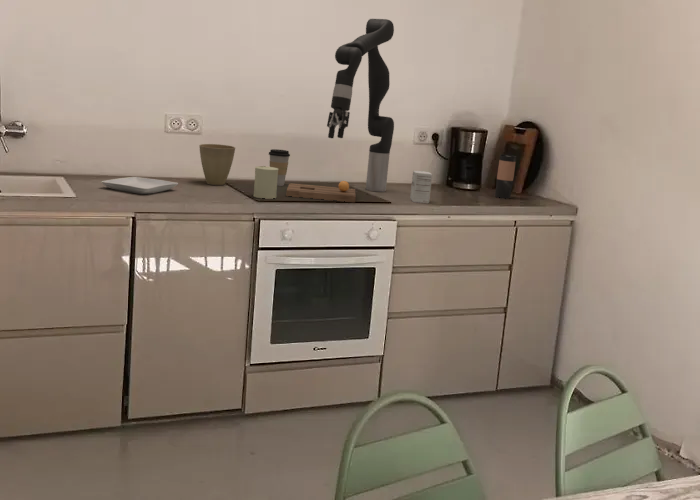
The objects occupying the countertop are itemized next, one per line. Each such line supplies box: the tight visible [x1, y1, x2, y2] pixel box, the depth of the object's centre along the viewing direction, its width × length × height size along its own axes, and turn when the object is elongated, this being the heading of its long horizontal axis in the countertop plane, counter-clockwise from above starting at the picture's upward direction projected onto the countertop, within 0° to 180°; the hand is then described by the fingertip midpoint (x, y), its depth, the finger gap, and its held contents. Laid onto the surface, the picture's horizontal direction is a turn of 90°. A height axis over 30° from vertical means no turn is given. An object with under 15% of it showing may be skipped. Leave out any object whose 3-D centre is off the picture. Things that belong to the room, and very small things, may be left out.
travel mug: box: [494, 153, 517, 199], centre depth 375 cm, size 8×8×20 cm
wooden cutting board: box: [285, 183, 357, 203], centre depth 331 cm, size 20×28×2 cm
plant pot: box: [199, 143, 236, 186], centre depth 334 cm, size 15×15×16 cm
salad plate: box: [101, 176, 179, 195], centre depth 305 cm, size 21×21×3 cm
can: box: [252, 165, 278, 200], centre depth 314 cm, size 9×9×12 cm
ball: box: [337, 180, 350, 192], centre depth 331 cm, size 4×4×4 cm
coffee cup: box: [268, 148, 291, 187], centre depth 349 cm, size 9×9×15 cm
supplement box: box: [409, 170, 433, 204], centre depth 340 cm, size 7×7×13 cm
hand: (335, 138), depth 316 cm, fingers open, 8 cm apart
